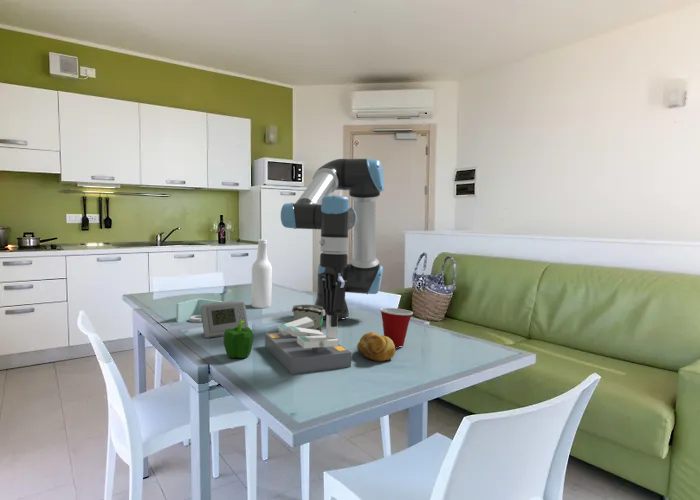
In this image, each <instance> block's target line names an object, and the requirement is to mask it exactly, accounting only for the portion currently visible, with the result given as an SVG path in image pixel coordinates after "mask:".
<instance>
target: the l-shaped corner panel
mask: <svg viewBox="0 0 700 500" xmlns="http://www.w3.org/2000/svg"><path fill="white" fill-rule="evenodd" d="M221 302H224V301H221V300H215V299H206V298H200V297H199V298H195V299H190V300H186V301H181V302H177V303H176V312H175V313H176V314H175V316H176V323H181V322H184V321H187V320H188V322H190V323H194V324H195V323H202V316H201V306H202V305H206V304H212V303H221Z"/></svg>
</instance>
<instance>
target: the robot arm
mask: <svg viewBox="0 0 700 500" xmlns="http://www.w3.org/2000/svg"><path fill="white" fill-rule="evenodd" d="M384 189H385V174H384V169H383V165H382V163H381V161H380V160H379V159H375V158H374V159H373V158H337V159H334V160H331V161H329V162H327V163H324V164H322V166H320V167H318V169H317V170H316V171H315V172H314V174H313V176H312V181H311V182H310V183H309V185H308V186H307V187H306V189H305V190H304V191H303V193H302V194H301V195H300V196H299V198H298V199H297V200H296V202H289V203H283V205H282V206H281V210H280V223H281V225H282V226H283V227H284V228H285V229H286V228H288V229H294V230H295V229H299V230H300V229H302V230H320V240H319V242H318V243H319V244H320V252H321V254H320V256H319V264H318V268H317V282H316V283H317V285H316V287H317V288H316V290H317V291H316V292H317V293H316V299H315V302H314V305H317V306H321V307H323V309H324V310H325V316H323V319H326V320H325V321H326V323H325V325H326V328H325V335H326V337H327V338H328V339H329V338H336V339H338V321H339V320H338V319H342V318H346V317H348V316H350V315H349V314H350V312H349V307H348V303H347V301H346V293H350V294H363V295H365V294H366V295H376V294H378V293H379V291H380V289H381V288H380V287H381V284H382V278H383V273H384V266H383V265H381V264H380V260H379V259H378V258H377V257H376V255H377V254H376V249H377V248H376V247H377V245H376V244H377V243H376V239H377V238H376V237H377V235H376V234H377V229H376V226H377V224H376V223H377V222H376V221H377V209H376V208H377V206H376V205H377V203H376V202H377V199H378V198H379V197H380V196H381V192H383V191H384ZM335 191H348V194H349V197H350V198H351V199H352V200H353V208H352V207H351V206H350V201H349V200H350V199H349V197H347V196H344V195H343V196H341V195H330V194H332V193H334V192H335ZM352 228H353V258H352V259H351V260H350V262H349V263H348V256H349V255H348V254H347V252H349V230H351V229H352ZM348 318H349V317H348ZM346 319H347V318H346ZM342 320H343V319H342Z"/></svg>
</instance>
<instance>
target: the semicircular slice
mask: <svg viewBox="0 0 700 500" xmlns="http://www.w3.org/2000/svg"><path fill="white" fill-rule="evenodd" d="M291 312H292V313H293V321H295V320H298V319H301V318H304V317H308V318H310V319H311V320H313V322H314V326H311V327H308V328H306V329H313V330H315V329H316V330H319V331H320V332H322V328H323V322H324V320H323V316H325V310H324V309H323V307H321V306H317V305H315V304H298V305H297V304H296V305H293V307H292V309H291Z"/></svg>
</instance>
